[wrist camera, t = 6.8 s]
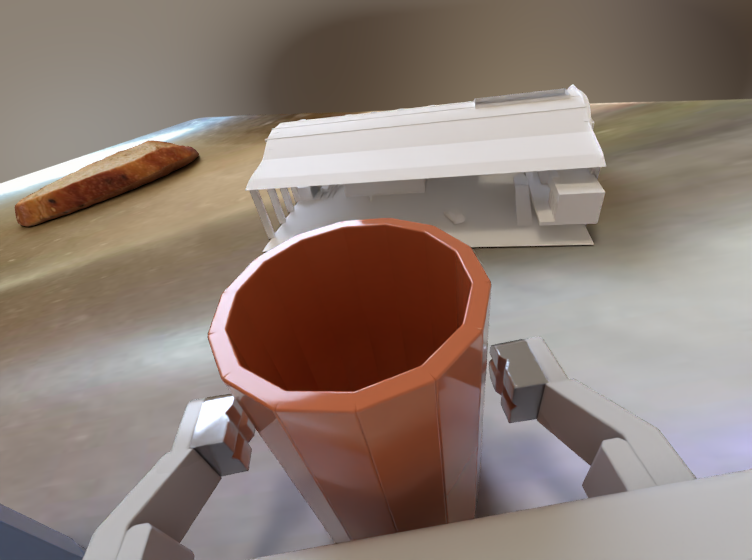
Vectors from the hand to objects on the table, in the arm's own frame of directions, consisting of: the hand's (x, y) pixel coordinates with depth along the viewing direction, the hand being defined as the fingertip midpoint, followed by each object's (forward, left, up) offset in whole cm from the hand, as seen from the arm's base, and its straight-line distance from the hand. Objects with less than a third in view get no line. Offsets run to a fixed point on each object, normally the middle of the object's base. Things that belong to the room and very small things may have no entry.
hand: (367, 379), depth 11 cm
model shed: (+20, +9, -6) cm, 23 cm away
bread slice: (+13, +49, -6) cm, 51 cm away
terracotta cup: (-1, -1, -6) cm, 6 cm away
